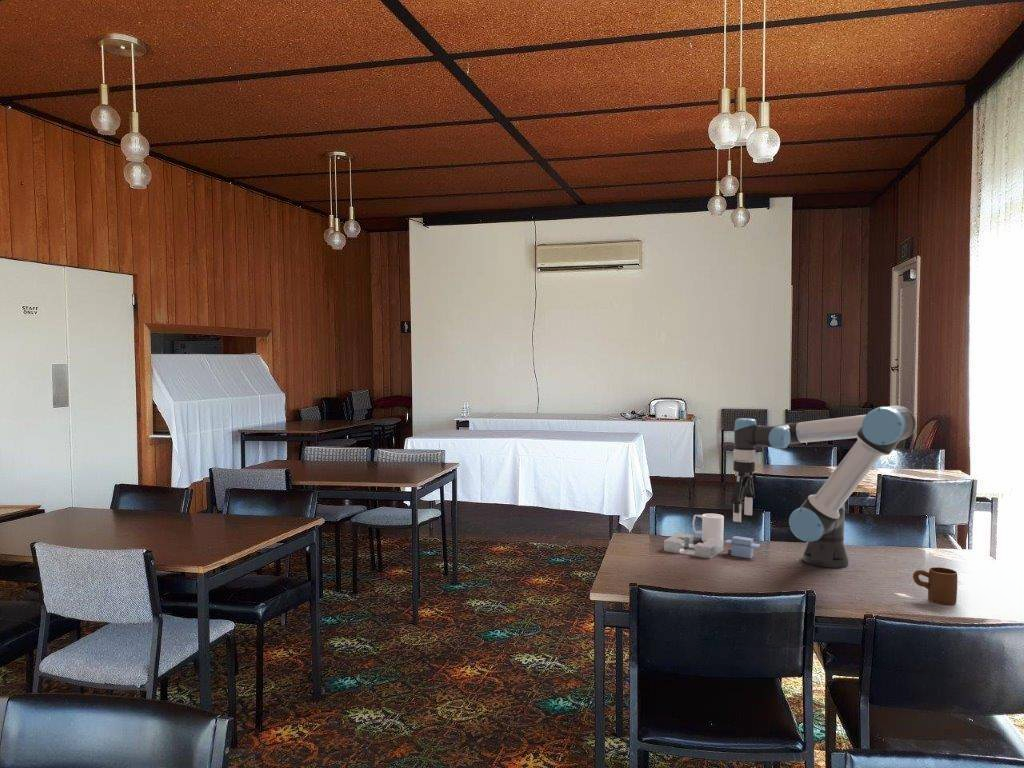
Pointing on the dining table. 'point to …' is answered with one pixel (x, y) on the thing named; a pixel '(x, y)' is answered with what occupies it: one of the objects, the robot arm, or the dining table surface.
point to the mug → (939, 584)
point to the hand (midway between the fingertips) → (742, 518)
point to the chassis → (693, 546)
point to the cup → (710, 526)
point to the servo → (742, 546)
